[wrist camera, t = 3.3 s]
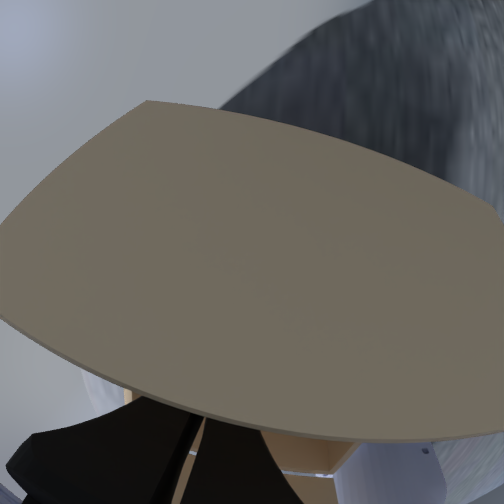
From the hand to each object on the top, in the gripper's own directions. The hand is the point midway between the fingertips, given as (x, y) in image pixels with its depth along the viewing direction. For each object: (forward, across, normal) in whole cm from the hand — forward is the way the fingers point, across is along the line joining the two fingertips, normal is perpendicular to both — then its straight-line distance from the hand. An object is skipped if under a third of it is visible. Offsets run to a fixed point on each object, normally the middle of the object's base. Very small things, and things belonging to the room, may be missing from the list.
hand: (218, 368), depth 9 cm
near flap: (-2, -2, -6) cm, 6 cm away
